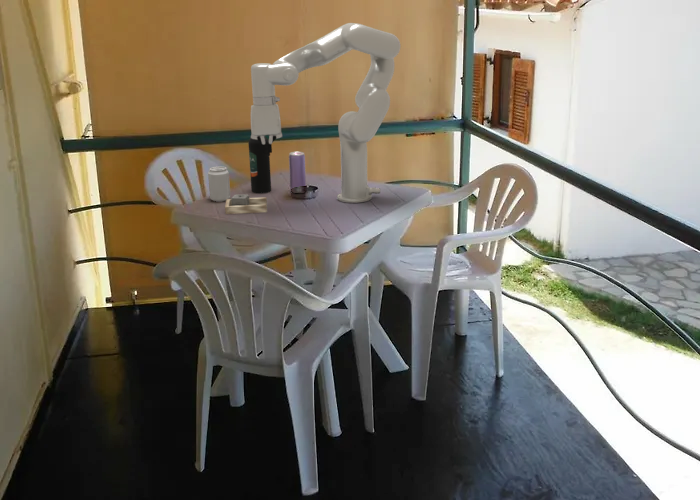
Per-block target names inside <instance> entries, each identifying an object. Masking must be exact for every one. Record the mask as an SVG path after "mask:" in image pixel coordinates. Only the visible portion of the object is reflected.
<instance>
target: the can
mask: <svg viewBox="0 0 700 500" xmlns="http://www.w3.org/2000/svg"><path fill="white" fill-rule="evenodd" d="M227 169H228V167H226V166H219V165H218V166H213V167H210V168H209V170H208V172H207V178H208V188H209V191H208V192H209V199H210V200H211V201H212V200H213V202H215V201H216V202H217V203H221V202H226V199H231V187H230V185H231V184H230V173H229V170H227ZM216 202H215V203H216Z"/></svg>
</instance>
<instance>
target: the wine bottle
mask: <svg viewBox="0 0 700 500" xmlns="http://www.w3.org/2000/svg"><path fill="white" fill-rule="evenodd" d="M264 138H265V141H266V143H268V141H269V138H268V137H266V135H264ZM247 142H248V153H249V154H248V156H249V157H248V160H249V174H250V189H251V190H250V191H251V193H253V194H268V193H270V192H272V181H271V180H272V179H271V162H270V161H271V160H270V157H271V156H269V155H267V156H266V154H265V153H263V144H262V143H261V142H260V141H259V140H257V139H252V138H251V137H250V138H249V140H248V141H247ZM267 153H268V146H267Z"/></svg>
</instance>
